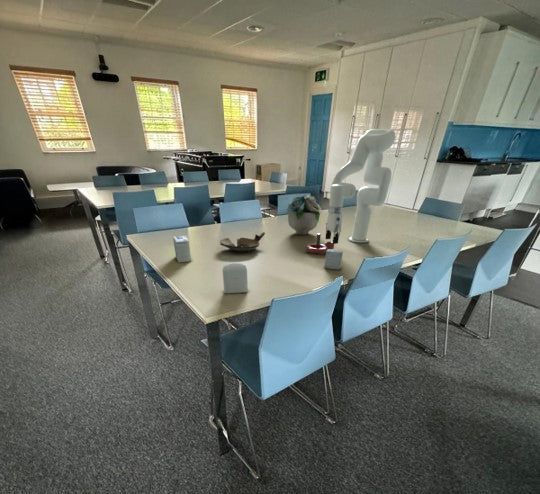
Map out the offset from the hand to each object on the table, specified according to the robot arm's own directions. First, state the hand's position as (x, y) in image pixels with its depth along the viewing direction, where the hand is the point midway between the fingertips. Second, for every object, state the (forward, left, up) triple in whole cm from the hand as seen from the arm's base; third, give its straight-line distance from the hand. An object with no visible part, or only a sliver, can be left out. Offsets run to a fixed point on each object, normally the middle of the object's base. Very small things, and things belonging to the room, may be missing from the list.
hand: (331, 241), depth 184 cm
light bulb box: (+50, -71, -6) cm, 87 cm away
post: (+6, -7, -6) cm, 10 cm away
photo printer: (+79, -26, -6) cm, 83 cm away
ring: (+4, -5, -4) cm, 8 cm away
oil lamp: (+20, -48, -6) cm, 52 cm away
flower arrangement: (-34, -27, -6) cm, 44 cm away
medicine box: (+31, +7, -6) cm, 32 cm away
